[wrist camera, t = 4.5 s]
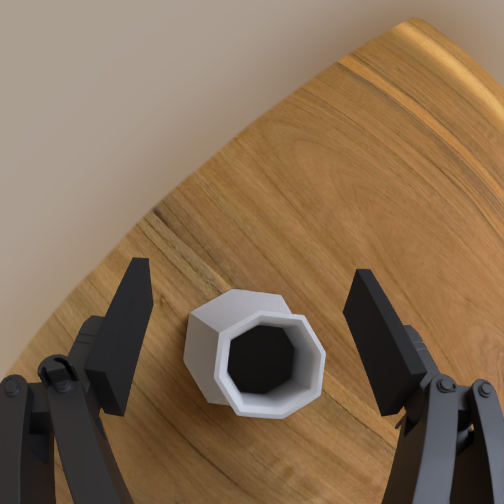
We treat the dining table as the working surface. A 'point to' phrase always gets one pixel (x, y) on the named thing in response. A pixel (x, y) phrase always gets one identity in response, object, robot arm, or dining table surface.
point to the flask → (254, 354)
